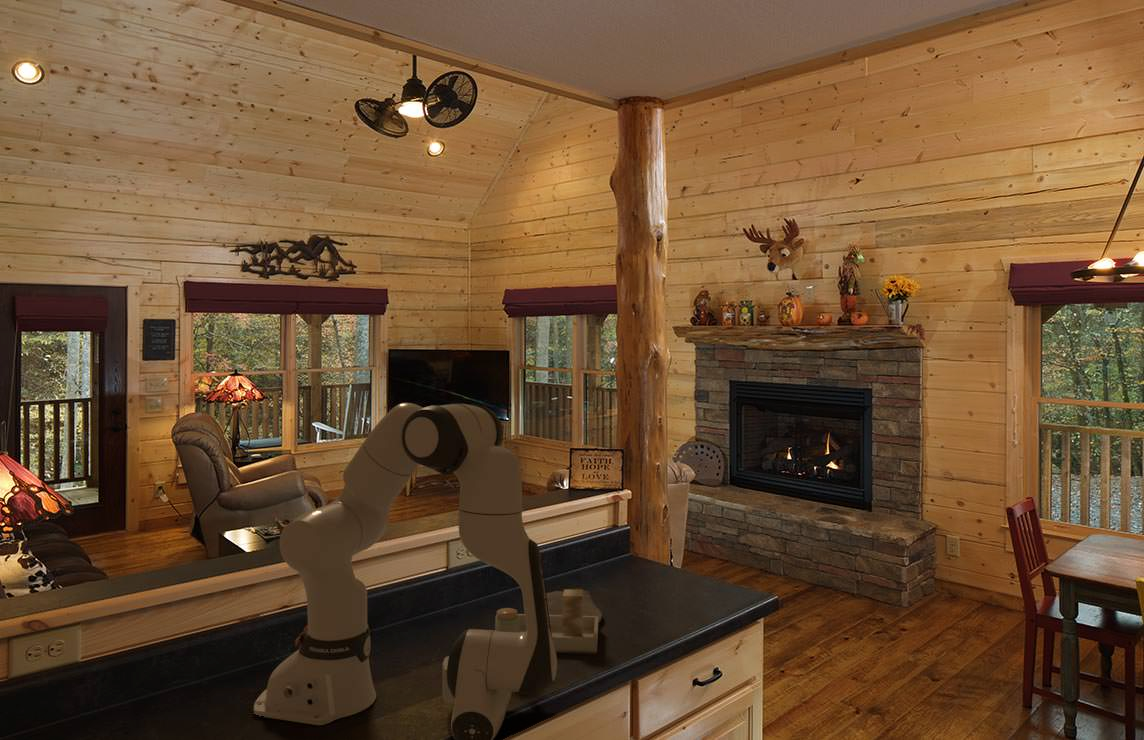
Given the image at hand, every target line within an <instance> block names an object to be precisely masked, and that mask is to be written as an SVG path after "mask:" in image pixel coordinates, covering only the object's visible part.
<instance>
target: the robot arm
mask: <svg viewBox="0 0 1144 740" xmlns="http://www.w3.org/2000/svg"><path fill="white" fill-rule="evenodd" d="M503 437H504V428H503V425H502V421H501V420H500V417H499V416H498V415H497V414H496V413H495V412H494V411H493V410H492V409H490V408H488V407H486V406H484V405H483V406H482V405H479V404H466V403H449V404H443V405H441V404H440V405H428V406H425V407H422V406H421V405H418V404H415V403H411V402H401V403H399V404H397V405H394V407H392V408H391V409H390V410H389V411H388V412H387V413H386V414H385V415H384V416H383V417H382V418H381V419H380V420H379V422H378V423H377V424H376V425H375V426H374V427H373V429H372V430H371V431H370V433H369V434H368V435H367V437H366V438H365V440H364V441H363V443H362V444H361V445H360V447H359V448H358V449H357V451H356V453H355V454H354V456H353V457H352V458H351V460H350V461H349V463H348V464H347V466H346V467H345V468H344V470H343V473H342V475H343V476H342V479H343V484H344V485H343V488H342V491H341V493H340V494H339V495H338V497H336V498H335V499H334V500H332V501H331V502H330V503H328V504H326V505H324V506H323V505H322V506H320V507H316V508H314V509H311V510H309V511H308V510H307V511H306V512H302V514H300V515H299V516H297V517H295V518H294V519H292V520H291V521H290V522H289V523H287V525H286V526H284V527H283V529H282V530H281V533H280V536H279V542H278V543H279V551H280V554H281V557H282V559H283V560H284V562H285V563H286V565H288V566H289V567H290V568H292V569H293V570H294V571H296V572H297V573H298V574H299V577H300V579H301V581H302V583H303V586H304V590H305V594H306V604H307V605H306V606H307V608H306V609H307V625H306V626H304V628H303V631H302V632H301V633H300V634H299V635H298V637H297V638H296V639H295V641H294V642H295V644H294V647H296V648H297V647H298V649H297V650H296V651H295V652H293V653H292V654H290V655H289V656H288V657H287V658H285V659H284V660H283V661H282V662H281V663H279V665H277V667H276V668H275V669H274V670H273V671H272V673H271V674H270V677H269V679H268V681H267V685H266V689H265V690H264V691H262V693H261V694H260V695H259V696H258V697H257V699H256V700H255V702H254V704H253V709H252V710H253V711H254V713H253V715H254V714H256V715H259V716H258V717H261V716H264V717H263V718H267V719H276V720H282V721H288V722H294V723H300V724H308V725H313V726H314V725H315V726H324V725H327V724H329V723H332V722H334V721H335V720H338V719H341V718H346V717H349V716H352V715H356V714H359V713H360V712H363V711H365V710H366V709H367V708H369V707H370V706H372V705H373V704H374V702H375V700H376V698H377V693H376V689H375V687H374V684H373V679H372V673H371V667H370V658H369V657H370V652H371V636H370V635H371V634H370V633H371V632H370V625H369V624H368V591H367V587H366V586H365V583H364V582H362V581H361V580H360V579H359V578H356V576H355V572H354V570H353V564H352V563H353V562H352V560H353V556H355V555H357V554H359V553H362V552H363V551H366V550H368V549H370V548H371V547H372V546H374V545H375V544H376V543H377V542H378V541H379V540H380V539H381V538H382V537H384V535H385V534H386V532H387V530H388V527H389V523H390V519H389V515H390V514H389V513H390V512H391V509H392V506H393V505H394V504H395V503H394V502H395V501H396V500H397V498H398V497H399V495H400V494H401V493H402V491H403V489H404V488H405V487H406V485H407V484H408V483H409V481H410V480H411V478H412V477H413V476H414V474H415V473H416V471H417V470H418V468H419V467H420V466H423V467H425V468H428V469H432V470H434V471H435V472H437V473H439V474H441V475H443V476H448V475H451V474H454V475H455V476H456V478H457V479H458V482H459V500H458V501H459V502H458V521H457V523H458V534H459V535H458V536H459V539H460V541H461V543H462V545H463V546H464V548H465V550H466V551H467V552H469V553H470V555H472V556H473V557H475V558H476V559H477V560H479V561H480V562H482V563H484V564H486V565H487V566H491V567H493V568H495V569H497V570H500V571H502V573H505V574H507V575H508V576H510V577H511V578H513V579H514V580H515V581H516V582H517V584H518V585H519V588H520V591H521V595H522V600H523V601H522V602H523V610H524V614H525V619H526V628H527V631H526V632H524V633H514V632H500V631H495V629H493V630H492V629H475V628H473V629H470V628H468V629H466V630H464V631H463V632H462V633H461V634H460V635H459V636H458V637H457V638H456V640H455V641H454V643H453V644H452V646H451V650H450V653H449V655H448V656H445V658H444V659H443V662H442V674H441V675H442V683H441V686H442V689H441V690H442V691H441V692H442V699H443V701H444V702H445V703H447V704H453V705H454V706H453V709H452V715H451V720H450V721H451V722H450V729H451V730H450V731H451V734H452V736H453V738H454V739H455V740H494V739H495V738H496V736H497V734H498V733H499V731H500V730H501V729H500V728H501V727H502V724H503V722H504V719H505V715H506V712H507V707H508V705H509V704H510V703H509V702H510V699H511V696H512V693H518V694H522V695H528V696H534V697H537V696H539V695H541V694H542V693H544V692H546V690H547V689H549V688H550V687H551V686H552V685H553V684H554V683H555V678H556V675H557V670H558V669H557V668H558V659H557V653H556V651H555V647H554V644H553V640H552V634H551V627H550V620H549V611H548V603H547V595H546V593H547V588H546V579H545V574H544V573H545V572H544V566H543V559H542V555H541V552H540V551H541V550H540V547H539V546H538V543H537V542H536V541H534V540H532V539H531V538H530V537H529V536H528V534H527V532H526V529H525V527H524V523H523V483H522V471H521V466H520V461H519V458H518V456H517V455H516V453H514V452H513V451H512V450H510V449H508V448H506V447H504V446H501V444H502V442H503ZM253 711H252V712H253ZM256 715H255V716H256Z"/></svg>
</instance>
